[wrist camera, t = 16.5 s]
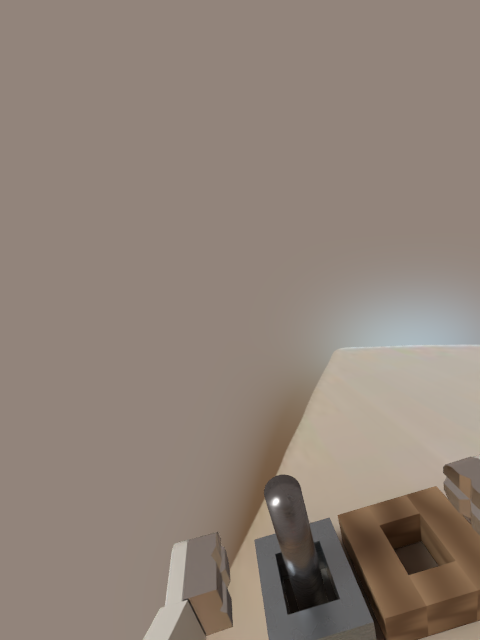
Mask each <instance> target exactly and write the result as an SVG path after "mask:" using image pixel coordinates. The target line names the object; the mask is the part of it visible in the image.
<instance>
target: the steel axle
mask: <svg viewBox="0 0 480 640" xmlns="http://www.w3.org/2000/svg"><path fill="white" fill-rule="evenodd" d="M264 495H265V500H266V503H267V506H268V510H269V513H270V516H271V519H272V523H273V526H274V529H275V533H276V536H277V539H278V542H279V546H280V549H281V552H282V556H283V559H284V562H285V566H286V569H287V572H288V575H289V579H290V582H291V585H292V589H293V592H294V595H295V599H296V602H297V605H298V608H299V611H302V610H306V609H309V608H312V607H316V606H319V605H322V604H325V603H328V598H327V594H326V590H325V586H324V582H323V578H322V573H321V569H320V565H319V561H318V557H317V553H316V549H315V545H314V541H313V537H312V532H311V528H310V524H309V520H308V516H307V512H306V508H305V504H304V500H303V496H302V491H301V487H300V485H299V483H298V481H297V480H296V479H295V478H293V477H291V476H289V475H278V476H275V477H273V478H272V479H271V480H270V481H269V482H268V483H267V485H266V486H265V490H264Z"/></svg>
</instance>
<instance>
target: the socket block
mask: <svg viewBox="0 0 480 640" xmlns="http://www.w3.org/2000/svg"><path fill="white" fill-rule="evenodd" d="M310 528H311V532H312V537H313V541H314V545H315V549H316V553H317V557H318V561H319V565H320V569H323V568H326V570H327V573H328V576H329V578H330V581H331V584H332V587H333V590H334V593H335V596H336V599H337V600H335V601H332V602H329V603H325V604H322V605H319V606H316V607H312V608H309V609H306V610H302V611H299V612H296V613H292V614H290V609H289V604H288V600H287V595H286V590H285V586H284V581H283V580H286V579H289V575H288V572H287V569H286V566H285V562H284V559H283V556H282V552H281V549H280V546H279V542H278V539H277V536H276V534H272V535H269V536H266V537H262V538H259V539H255V547H256V554H257V561H258V568H259V575H260V581H261V588H262V595H263V602H264V609H265V616H266V623H267V630H268V637H269V640H377V639H376V633H375V627H374V622H373V619H372V617H371V615H370V612H369V610H368V607H367V605H366V603H365V600H364V598H363V596H362V593H361V591H360V589H359V586H358V584H357V581H356V579H355V577H354V574H353V572H352V570H351V567H350V565H349V563H348V560H347V558H346V556H345V553H344V551H343V548H342V546H341V544H340V541H339V539H338V537H337V534H336V532H335V530H334V527H333V525H332V522H331V520H330V518H327V519H323V520H320V521H316V522H313V523H310Z"/></svg>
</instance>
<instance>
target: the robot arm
mask: <svg viewBox="0 0 480 640" xmlns="http://www.w3.org/2000/svg"><path fill="white" fill-rule="evenodd" d="M443 473H444V474H445V475H446V476H447V478H446V480H445V481H444V491H445V493H446V495H447V497H448V499H449V501H450V502H451V504H452V505H453V506H454V508H455V509H456V510H457V511H458V512H459V513H460V514H462V515H464V516H466V517H468V518H470V521H471V525H472V528H473V529H474V530H475V531H476V532H477V533H478V534H479V535H480V455H477V456H473V457H468V458H465V459H462V460H459V461H456V462H452V463H449V464H446V465H445V466H444V467H443ZM229 584H230V569H229V563H228V557H227V554H226V550H225V548H224V547H223V546H221V538H220V536H219V533H218V532H216V533H212V534H208V535H205V536H201V537H198V538H194V539H190V540H186V541H183V542H180V543H176V544H174V547H173V549H172V555H171V563H170V571H169V579H168V587H167V594H166V602H165V606H164V607H161V608H160V610H159V612H158V613H157V615H156V617H155V619H154V621H153V622H152V624H151V626H150V628H149V630H148V632H147V633H146V635H145V637H144V639H143V640H206V636H207V635H210V634H213V633H216V632H219V631H222V630H225V629H228V628H231V627H233V620H232V601H231V597H230V594H229V592H228V589H227V588H228V586H229Z"/></svg>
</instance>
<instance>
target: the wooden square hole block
mask: <svg viewBox="0 0 480 640" xmlns="http://www.w3.org/2000/svg"><path fill="white" fill-rule="evenodd" d="M338 519H339V524H340V529H341V534H342V540H343V543H344V545H345V547H346V550H347V552H348V554H349V557H350V559H351V561H352V564H353V566H354V568H355V570H356V573H357V575H358V577H359V580H360V582H361V584H362V587H363V589H364V591H365V593H366V596H367V598H368V600H369V603H370V605H371V607H372V610H373V612H374V614H375V616H376V619H377V621H378V623H379V626H380V628H381V630H382V633H383V635H384V637H385V639H386V640H417V639H420V638H424V637H427V636H430V635H433V634H436V633H440V632H443V631H446V630H449V629H453V628H456V627H459V626H462V625H466V624H469V623H472V622H475V621H479V620H480V535H479V534H478V533H477V532H476V531H475V530H474V529H473V528H472V525H471V524H470V523H469V522H468V521H467V520H466V519H465V518H464V516H463V515H462V514H460V513H459V512H458V511H457V510H456V509H455V508H454V506H453V505H452V504H451V502H450V501H449V500H448V499H447V498H446V497H445V495H444V494H443V493H442V492H441V491H440V490H439V489H438V488H437V487H436V486H435V487H431V488H428V489H425V490H421V491H418V492H415V493H411V494H408V495H404V496H401V497H398V498H394V499H391V500H387V501H384V502H381V503H377V504H374V505H371V506H367V507H364V508H360V509H357V510H354V511H350V512H347V513H343V514H340V515H338ZM420 541H422V542H423V544H424V545H425V547H426V548H427V550H428V551H429V553H430V554H431V555H432V557H433V558H434V560H435V561H436V563H437V564H438V567H434V568H431V569H428V570H424V571H421V572H418V573H414V574H411V575H408V573H407V572H406V570H405V568H404V566H403V565H402V563H401V561H400V560H399V558H398V556H397V554H396V553H395V551H394V549H397V548H400V547H403V546H407V545H410V544H413V543H417V542H420Z"/></svg>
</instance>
